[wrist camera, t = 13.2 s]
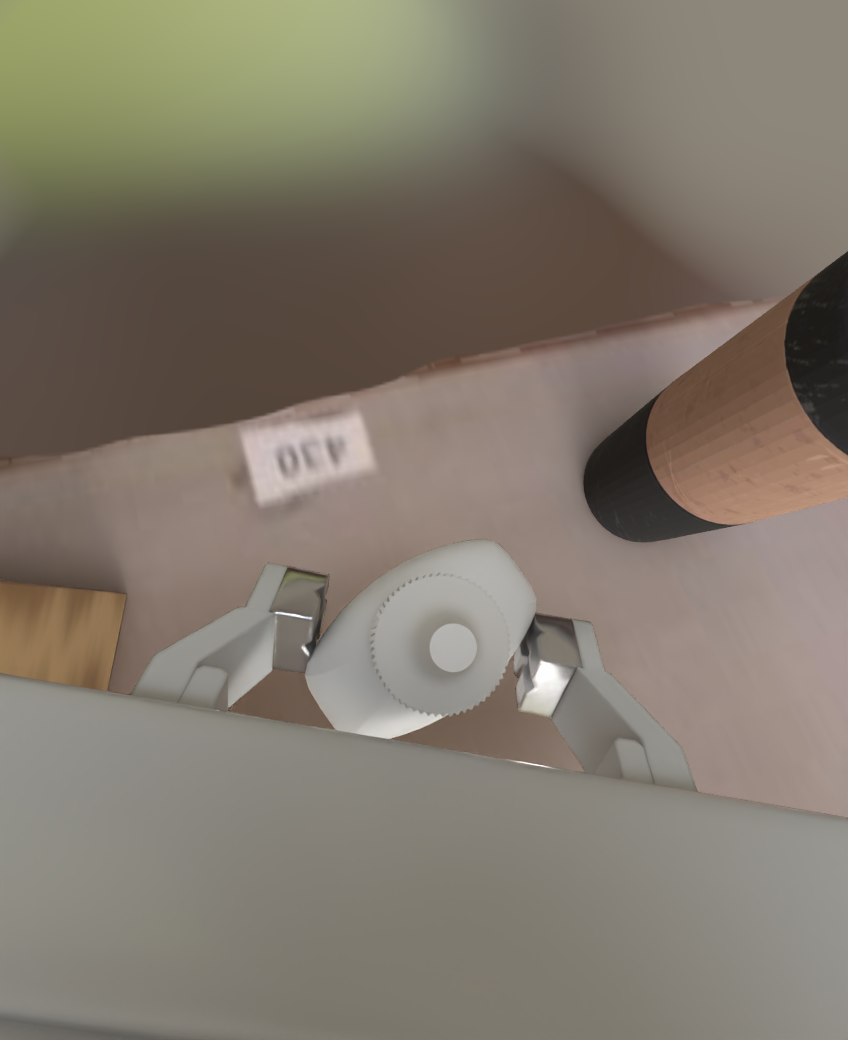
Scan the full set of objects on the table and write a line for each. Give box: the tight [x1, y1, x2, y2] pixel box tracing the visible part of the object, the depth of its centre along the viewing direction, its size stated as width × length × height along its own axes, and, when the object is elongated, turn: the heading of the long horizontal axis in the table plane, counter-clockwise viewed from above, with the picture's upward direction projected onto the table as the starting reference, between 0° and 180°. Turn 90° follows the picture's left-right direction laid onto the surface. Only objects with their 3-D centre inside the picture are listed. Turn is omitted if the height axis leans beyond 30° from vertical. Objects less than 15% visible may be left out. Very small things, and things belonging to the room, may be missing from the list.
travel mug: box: [584, 252, 848, 542], centre depth 26 cm, size 8×8×20 cm
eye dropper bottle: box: [305, 539, 537, 739], centre depth 14 cm, size 4×6×12 cm
